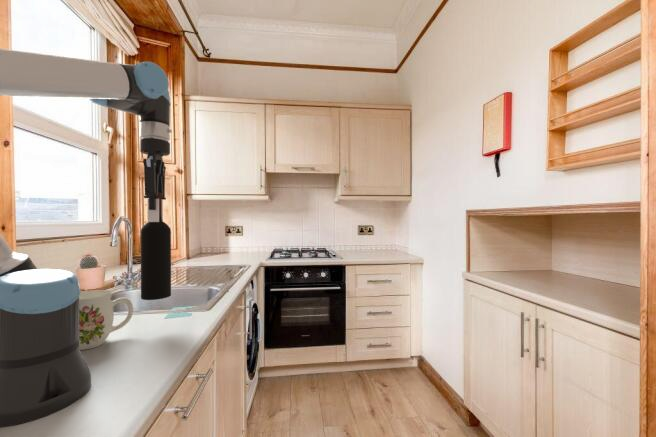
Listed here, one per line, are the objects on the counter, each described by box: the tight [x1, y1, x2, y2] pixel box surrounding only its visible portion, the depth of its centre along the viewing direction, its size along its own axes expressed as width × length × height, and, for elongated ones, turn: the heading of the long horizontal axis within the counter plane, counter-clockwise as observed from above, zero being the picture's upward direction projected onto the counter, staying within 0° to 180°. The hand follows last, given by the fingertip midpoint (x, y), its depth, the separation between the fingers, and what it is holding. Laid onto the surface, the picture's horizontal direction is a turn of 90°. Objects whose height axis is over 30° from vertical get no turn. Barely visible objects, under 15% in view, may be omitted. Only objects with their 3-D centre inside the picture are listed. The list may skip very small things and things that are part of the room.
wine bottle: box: [140, 192, 172, 301], centre depth 88 cm, size 8×8×30 cm
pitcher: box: [79, 289, 134, 351], centre depth 81 cm, size 11×18×14 cm, turn 131°
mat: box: [163, 305, 197, 320], centre depth 107 cm, size 12×12×1 cm
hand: (155, 221), depth 88 cm, fingers closed on wine bottle, 3 cm apart
